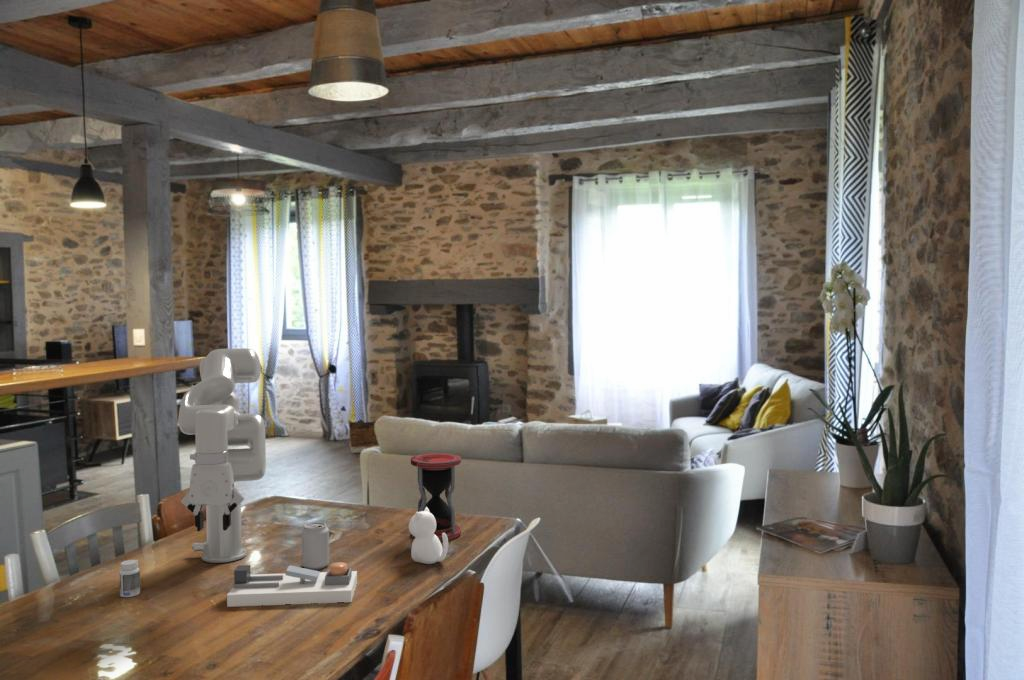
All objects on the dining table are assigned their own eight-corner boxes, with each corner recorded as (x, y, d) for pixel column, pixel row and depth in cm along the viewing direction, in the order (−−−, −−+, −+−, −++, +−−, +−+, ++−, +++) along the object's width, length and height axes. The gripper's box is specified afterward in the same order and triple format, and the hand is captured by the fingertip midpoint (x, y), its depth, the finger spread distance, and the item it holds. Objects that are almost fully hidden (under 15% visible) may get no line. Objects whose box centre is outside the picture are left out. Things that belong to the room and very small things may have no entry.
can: (322, 571, 214) (321, 528, 213) (297, 569, 215) (296, 527, 215) (333, 562, 221) (333, 521, 220) (309, 560, 222) (309, 519, 222)
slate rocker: (285, 575, 194) (286, 570, 194) (288, 569, 198) (289, 565, 198) (316, 581, 195) (317, 577, 195) (318, 576, 199) (319, 571, 199)
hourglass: (434, 524, 259) (433, 451, 258) (471, 532, 250) (471, 456, 249) (400, 536, 246) (399, 458, 245) (438, 545, 237) (438, 464, 236)
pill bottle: (144, 592, 198) (143, 560, 198) (130, 598, 194) (129, 565, 193) (130, 589, 200) (129, 558, 199) (115, 596, 195) (114, 563, 195)
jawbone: (342, 532, 254) (342, 526, 254) (347, 552, 235) (348, 545, 235) (314, 532, 252) (314, 526, 251) (317, 552, 232) (317, 545, 232)
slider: (234, 586, 193) (234, 570, 193) (238, 580, 197) (238, 565, 197) (246, 586, 194) (246, 570, 193) (250, 580, 198) (250, 565, 197)
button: (328, 577, 195) (328, 568, 195) (330, 571, 200) (330, 562, 200) (346, 577, 196) (346, 567, 196) (348, 571, 200) (348, 562, 200)
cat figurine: (417, 554, 229) (416, 504, 228) (455, 558, 224) (454, 507, 223) (402, 564, 220) (401, 512, 220) (442, 568, 216) (441, 515, 215)
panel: (227, 606, 188) (226, 586, 188) (241, 586, 202) (241, 566, 202) (351, 602, 191) (351, 581, 191) (357, 582, 205) (356, 562, 205)
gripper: (171, 462, 189) (172, 534, 190) (243, 460, 190) (244, 532, 191) (181, 456, 196) (182, 526, 197) (250, 454, 198) (251, 524, 199)
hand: (213, 528), depth 194 cm, fingers open, 5 cm apart
